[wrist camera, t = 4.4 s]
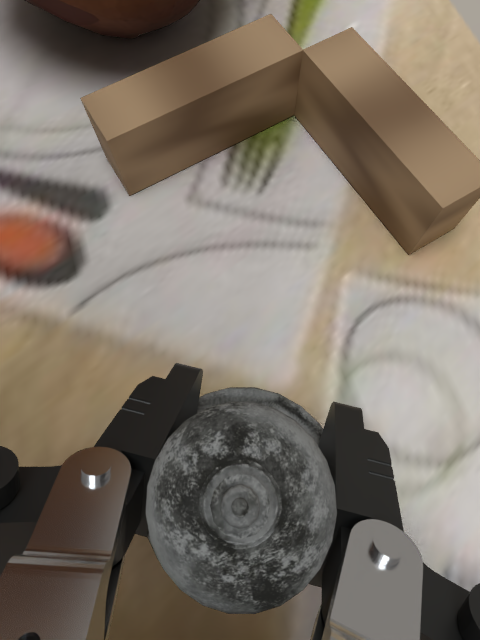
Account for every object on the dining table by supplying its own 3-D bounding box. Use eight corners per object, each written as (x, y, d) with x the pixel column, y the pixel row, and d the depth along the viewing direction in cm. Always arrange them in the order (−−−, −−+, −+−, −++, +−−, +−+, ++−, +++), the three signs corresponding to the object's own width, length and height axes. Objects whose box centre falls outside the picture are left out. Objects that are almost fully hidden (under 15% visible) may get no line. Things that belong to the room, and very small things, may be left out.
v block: (450, 263, 19) (493, 218, 16) (93, 188, 20) (64, 132, 17) (465, 117, 21) (505, 52, 18) (148, 60, 23) (131, -10, 20)
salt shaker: (307, 394, 17) (432, 233, 6) (339, 565, 15) (623, 826, 4) (156, 415, 17) (-23, 289, 6) (168, 590, 15) (-69, 946, 4)
